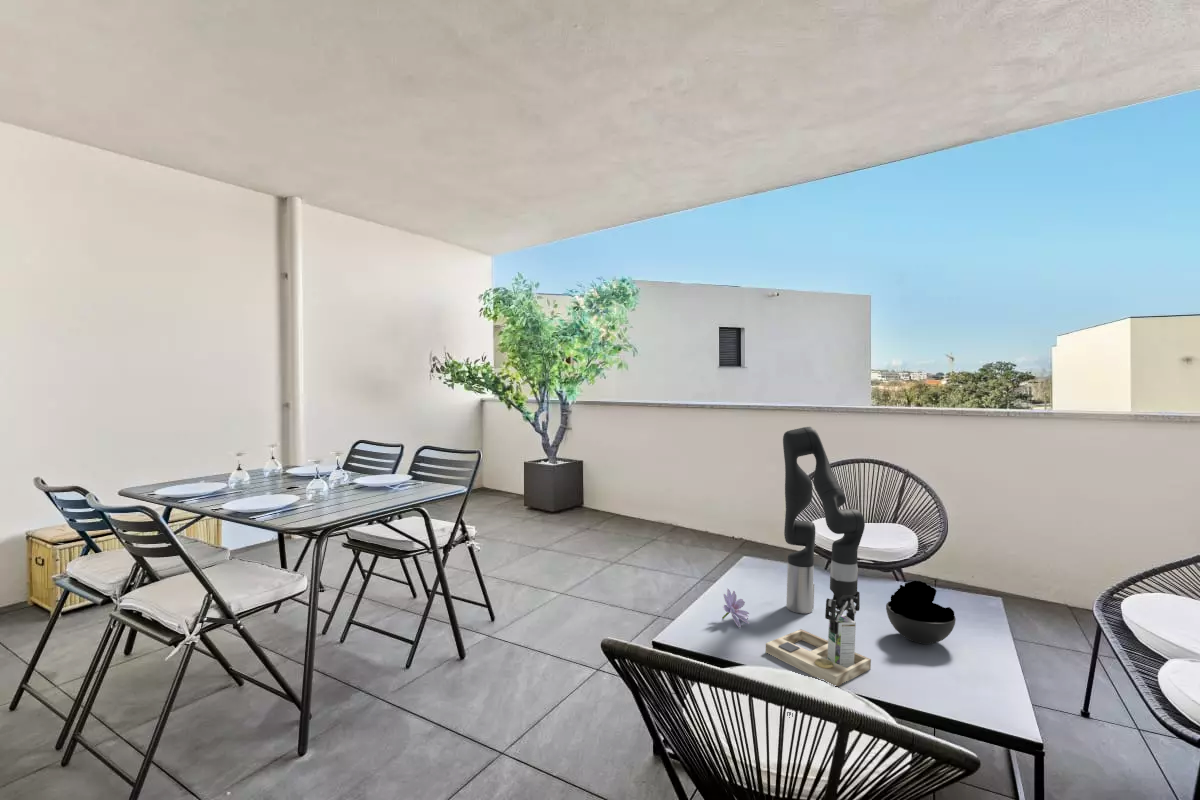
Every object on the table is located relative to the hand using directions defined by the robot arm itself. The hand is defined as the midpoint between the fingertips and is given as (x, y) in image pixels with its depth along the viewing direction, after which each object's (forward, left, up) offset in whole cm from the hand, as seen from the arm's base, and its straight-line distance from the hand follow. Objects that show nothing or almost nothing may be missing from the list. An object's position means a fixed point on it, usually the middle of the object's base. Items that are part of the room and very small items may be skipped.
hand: (842, 629), depth 169 cm
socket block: (+3, -6, -11) cm, 13 cm away
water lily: (+3, -38, -12) cm, 40 cm away
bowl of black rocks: (-37, +5, -11) cm, 39 cm away
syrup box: (0, 0, -11) cm, 11 cm away
